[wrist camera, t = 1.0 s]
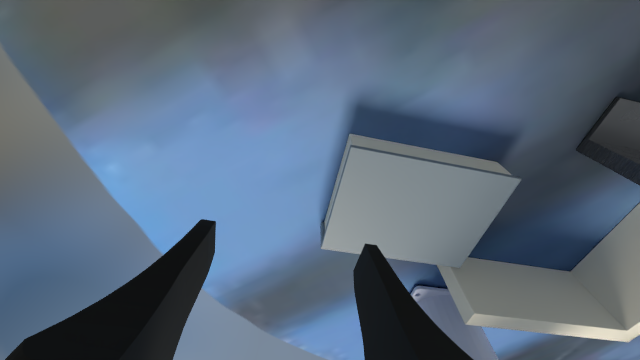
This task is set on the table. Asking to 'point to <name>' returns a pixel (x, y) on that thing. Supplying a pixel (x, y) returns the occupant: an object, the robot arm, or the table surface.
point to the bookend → (616, 139)
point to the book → (413, 201)
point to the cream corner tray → (557, 291)
